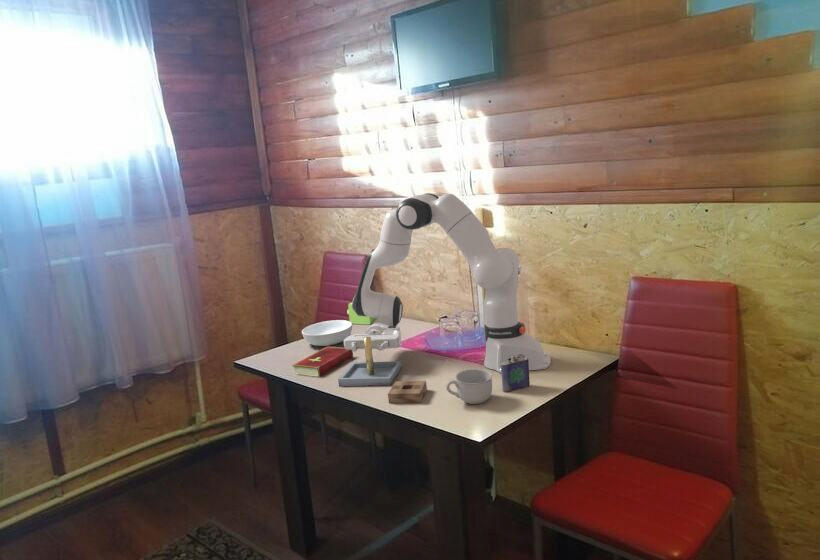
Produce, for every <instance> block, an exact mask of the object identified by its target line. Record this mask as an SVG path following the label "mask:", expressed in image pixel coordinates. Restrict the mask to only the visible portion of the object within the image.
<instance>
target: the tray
mask: <svg viewBox="0 0 820 560" xmlns="http://www.w3.org/2000/svg"><path fill="white" fill-rule="evenodd" d="M373 364H374V375H368V374H367V365H366V361H361V362H359V361H358V362H352V363H350V365H349V366H348V367H347V368H346V370H344V372H343V373H342V374H341V375H340V376H339V378H338V379H337V380H338V381H337V382H338V387H367V386H368V385H388V386H391V385H392V384H393V383H392V382H394V381H395V380H396V378H397V377H398V375H399V373H400V372H401V370H402V369H401V368H403V365H402V361H401V360H398V361H397V360H395V361H393V360H392V361H373ZM399 371H400V372H399ZM364 385H365V386H364ZM368 387H369V386H368Z"/></svg>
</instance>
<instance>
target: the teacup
mask: <svg viewBox="0 0 820 560" xmlns="http://www.w3.org/2000/svg"><path fill="white" fill-rule="evenodd" d="M492 381H493V375H492V373H491V372H490V371H488V370H485V369H483V368H482V369H481V368H469V369H465V370H461V371H459V372H458V373H456V374H455V379H449V380H448V381H447V382H446V383H445V390H446V391H447V392H448V393H449V394H451V395H453V396H455V397H456V398H457V399H460V400H462V401H463V402H464V403H466V404H469V405H480V404H483V403H485V402H486V401H487V400H489V399H490V397H491V396H492V394H493V393H492V392H493V382H492ZM453 384H454V385H455V387H456V391H453V390H452V389H451V388H450V387H451V385H453Z"/></svg>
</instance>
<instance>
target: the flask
mask: <svg viewBox="0 0 820 560" xmlns="http://www.w3.org/2000/svg"><path fill="white" fill-rule="evenodd" d="M511 357H512V358H511V360H510V361H507V362H504V363H501V374H500V375H501V386H502V388H501V390H502V392H504V393H510V392H515V391H518V390H520V389H525V388H530V387H531V386H530V385H531V384H530V383H531V382H530V371H529V363H528V359H527V358H525V357H524V358H522V357H520V358H516V357H515V355H514V354H513V355H511Z"/></svg>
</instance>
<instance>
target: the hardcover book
mask: <svg viewBox="0 0 820 560" xmlns="http://www.w3.org/2000/svg"><path fill="white" fill-rule="evenodd" d="M352 357H353V358H354V351H352V349H350V350H347V349H345V347H339V346H338V347H337V346H324V347H323V348H322V349H319V350H318V351H316V352H314V353H312V354H310V355H308V356H307V357H304V358H303V359H301V360H299V361H297V362H295V363H294V364H292V365H291V367H293V369H294V374H295V375H301V376H311V377H318V378H320V377H322V376H324V375H325V374H327V373H329V372H330V371H332V370H334V369H336V368H337V367H339V366H340V365H343V364H344V363H346V362H347V361H350V360H351V359H353V358H352Z"/></svg>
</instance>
